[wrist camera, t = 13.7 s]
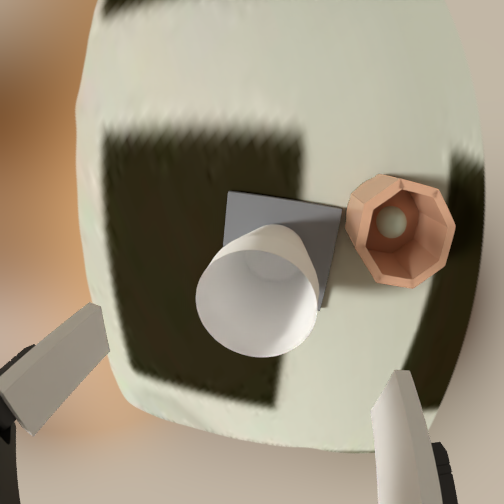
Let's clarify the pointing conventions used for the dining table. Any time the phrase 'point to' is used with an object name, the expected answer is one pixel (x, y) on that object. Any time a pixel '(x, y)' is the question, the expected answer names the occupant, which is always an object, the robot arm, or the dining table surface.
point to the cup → (260, 293)
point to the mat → (287, 225)
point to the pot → (413, 238)
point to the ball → (391, 222)
